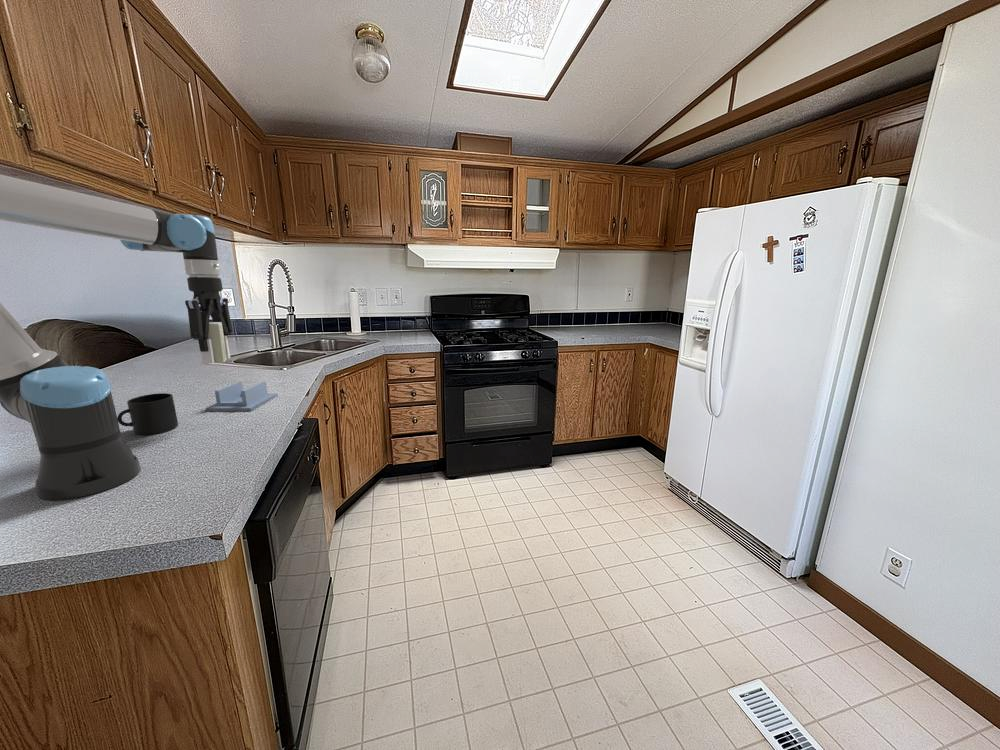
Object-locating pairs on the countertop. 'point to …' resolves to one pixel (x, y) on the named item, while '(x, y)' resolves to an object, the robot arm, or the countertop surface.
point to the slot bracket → (241, 397)
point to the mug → (151, 414)
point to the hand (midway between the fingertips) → (217, 360)
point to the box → (217, 341)
